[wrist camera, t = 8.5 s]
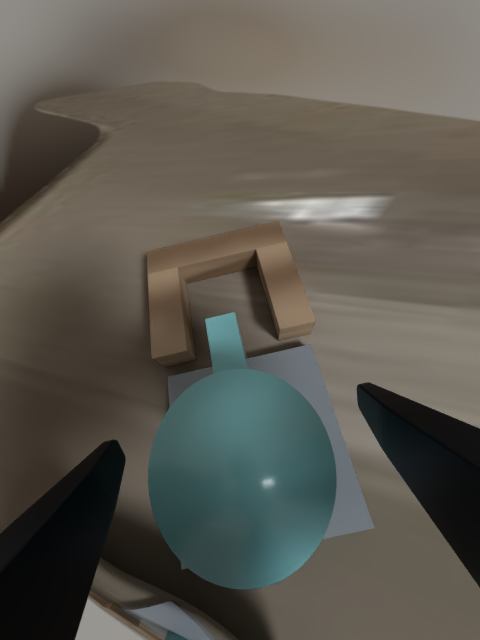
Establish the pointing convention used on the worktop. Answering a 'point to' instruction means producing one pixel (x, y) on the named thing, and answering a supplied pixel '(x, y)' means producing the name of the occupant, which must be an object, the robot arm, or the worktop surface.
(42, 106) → the worktop surface
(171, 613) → the beer glass
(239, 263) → the bracket
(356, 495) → the coaster
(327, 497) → the teal gourd with tab
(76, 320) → the worktop surface
